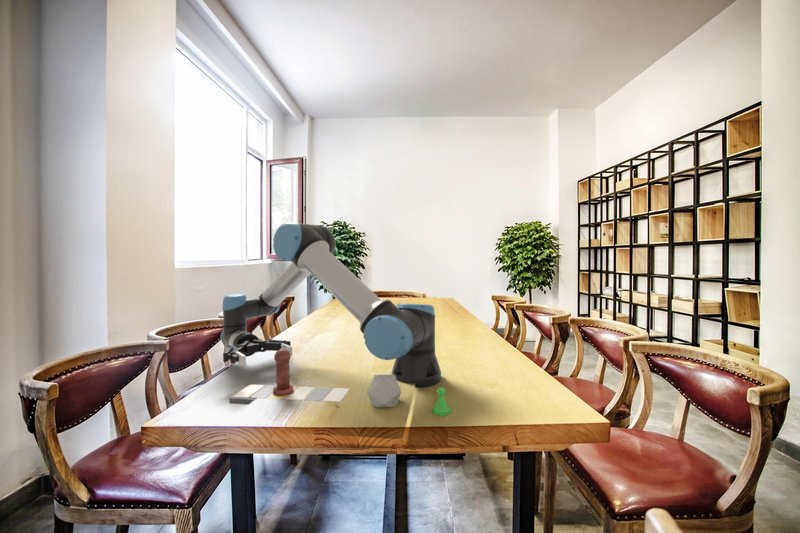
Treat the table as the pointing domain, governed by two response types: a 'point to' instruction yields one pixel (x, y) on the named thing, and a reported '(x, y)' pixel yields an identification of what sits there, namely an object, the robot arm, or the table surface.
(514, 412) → the table surface
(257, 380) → the table surface
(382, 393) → the die
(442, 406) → the game piece
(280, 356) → the pawn
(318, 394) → the board
